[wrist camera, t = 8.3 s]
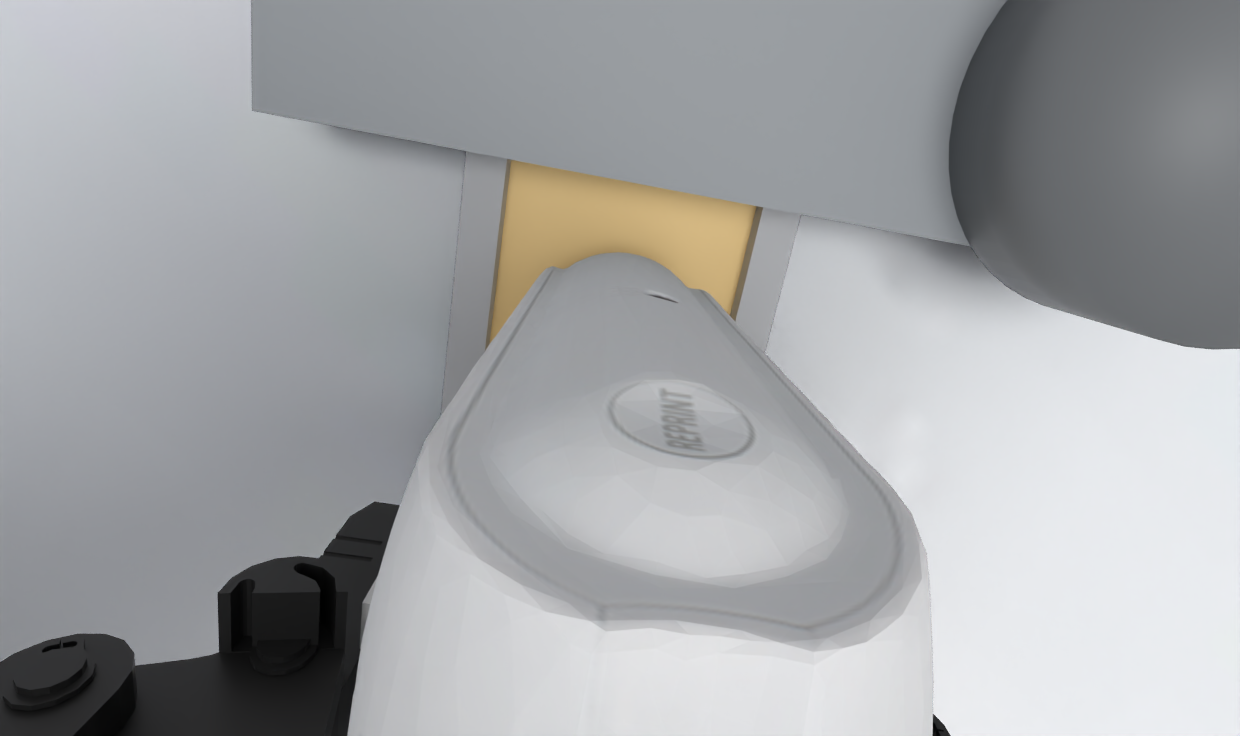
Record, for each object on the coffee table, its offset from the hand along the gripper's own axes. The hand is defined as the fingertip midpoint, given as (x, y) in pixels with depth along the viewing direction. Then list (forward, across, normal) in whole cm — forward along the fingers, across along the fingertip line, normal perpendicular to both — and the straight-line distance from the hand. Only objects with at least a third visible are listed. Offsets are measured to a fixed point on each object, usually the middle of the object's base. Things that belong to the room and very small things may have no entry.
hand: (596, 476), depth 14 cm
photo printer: (+1, 0, 0) cm, 1 cm away
